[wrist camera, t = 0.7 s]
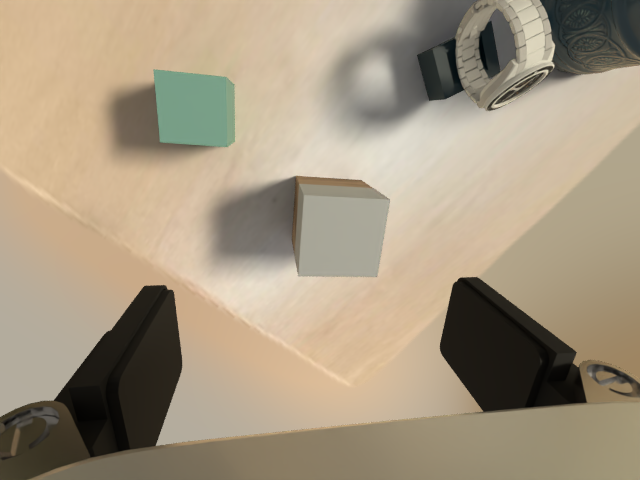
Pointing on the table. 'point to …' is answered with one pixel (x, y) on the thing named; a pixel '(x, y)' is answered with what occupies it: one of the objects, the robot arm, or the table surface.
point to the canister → (594, 34)
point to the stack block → (195, 108)
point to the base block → (320, 182)
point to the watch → (491, 55)
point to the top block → (339, 230)
